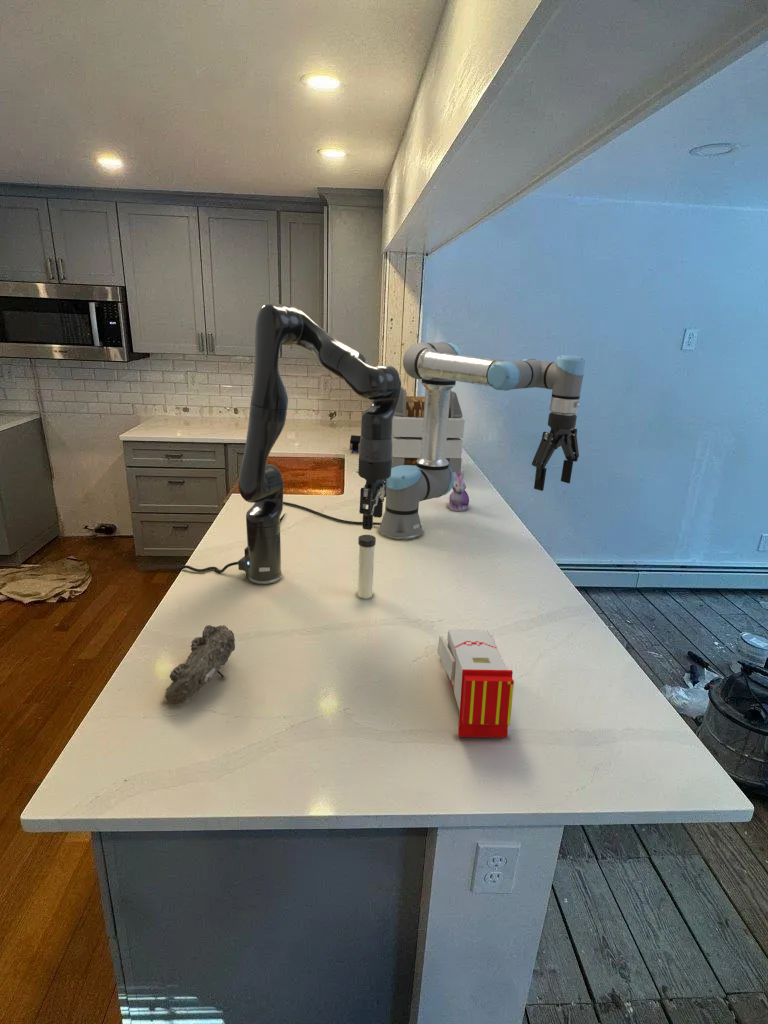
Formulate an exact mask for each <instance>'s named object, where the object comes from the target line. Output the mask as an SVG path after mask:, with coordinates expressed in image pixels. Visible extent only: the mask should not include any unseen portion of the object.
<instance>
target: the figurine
mask: <svg viewBox="0 0 768 1024" xmlns="http://www.w3.org/2000/svg"><path fill="white" fill-rule="evenodd" d="M464 478H465V471H464V470H461V474H460V475H459V476H458V475H457V473H456V472H454V484H453V487H452V489H451V490H452V492H451V493H450V494H449V501H448V509H450V510H451V511H453V512H461V511H465V510H467V509H468V508H469V505H470V497H469V494H468V492H467V491H466V489H467V485H466V482H465V479H464Z"/></svg>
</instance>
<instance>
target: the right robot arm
mask: <svg viewBox="0 0 768 1024" xmlns="http://www.w3.org/2000/svg"><path fill="white" fill-rule="evenodd" d="M585 365H586V360H585V358H584V357H582V356H578V355H566V354H565V355H564V354H563V355H558V356H557V357H556V360H555V361H549V360H541V359H536V358H524V359H521V360H506V359H505V360H504V359H503V360H502V359H496V358H487V357H479V356H471V355H464V354H463V352H462V350H461V349H460V347H459V346H457V345H456V344H455V343H451V342H445V341H443V342H442V341H441V342H440V341H439V342H438V341H437V342H417V343H414V344H412V345H411V346H409V347H408V348H407V350H406V351H405V353H404V355H403V358H402V366H403V369H404V372H405V373H406V374H407V375H408V376H409V377H411V378H412V379H415V380H421V385H422V386H423V387H424V389H425V392H424V397H425V404H424V419H423V434H422V449H421V457H420V458H418V459H417V461H416V466H413V465H401V466H396V467H394V468H392V469H391V476H390V477H389V478H388V479H387V485H386V497H385V504H384V505H385V507H384V508H385V509H384V513H383V514H382V519H381V522H375V521H373V526H379V527H378V533H379V534H380V535H381V536H382V537H385V538H387V539H389V540H395V541H410V540H415V539H418V538H420V537H421V536H422V535H423V525H422V524H421V518H420V515H419V507H420V506H419V505H420V502H423V501H427V500H431V499H437V498H440V497H443V496H446V495H448V493H450V492H451V490H453V489H452V487H453V484H454V473H452V469H451V467H450V466H449V462H448V461H447V459H446V458H445V453H446V441H447V428H448V416H449V404H450V392H451V391H452V389H453V388H454V387H455V386H456V384H457V382H461V383H465V384H473V385H479V386H487V387H491V388H492V389H494V390H496V391H503V392H504V391H511V390H520V389H532V388H533V389H534V388H539V389H546V390H551V398H550V404H549V413H548V418H547V419H548V420H547V426H548V427H549V428H550V431H549V432H548V431H543V432H542V435H541V440H540V442H539V445H538V447H537V449H536V452H535V454H534V457H533V460H532V461H531V466H533V467H535V475H534V477H535V478H534V485H533V489H534V490H537V491H539V492H543V491H544V489H545V484H546V483H545V482H546V476H547V468H546V466H547V465H548V463H549V461H550V459H551V457H552V456H553V454H554V453H555V451H556V450H557V449H558V448H560V447H561V449H562V452H563V455H564V458H565V459H563V463H562V468H561V469H562V470H561V475H560V482H562V483H566V484H571V478H572V472H573V466H574V463H576V462H578V461H579V457H580V453H579V444H578V428H576V423H577V419H578V416H577V414H578V412H579V411H578V410H579V406H580V397H581V391H582V385H583V380H584V376H585ZM283 505H286V506H290V507H295V508H298V509H302V510H305V511H307V512H311V513H313V514H315V515H318V516H321V517H324V518H326V519H329V520H333V521H336V522H339V523H345V524H351V525H363V521H353V520H346V519H341V518H337V517H333V516H330V515H327V514H325V513H322V512H319V511H317V510H314V509H312V508H309V507H305V506H302V505H299V504H296V503H292V502H287V501H283Z"/></svg>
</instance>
